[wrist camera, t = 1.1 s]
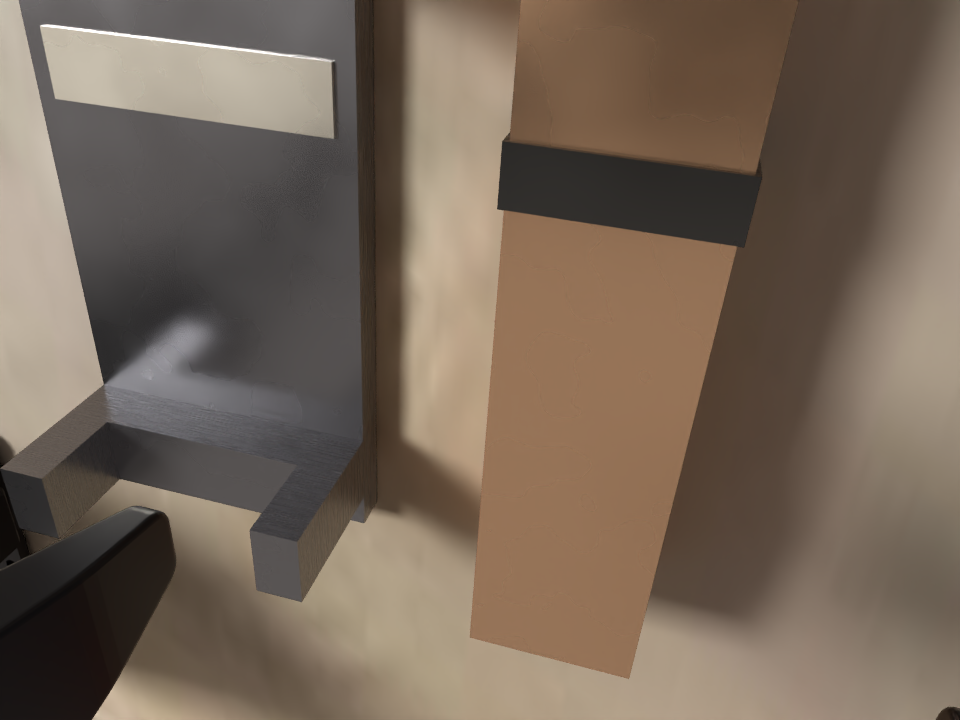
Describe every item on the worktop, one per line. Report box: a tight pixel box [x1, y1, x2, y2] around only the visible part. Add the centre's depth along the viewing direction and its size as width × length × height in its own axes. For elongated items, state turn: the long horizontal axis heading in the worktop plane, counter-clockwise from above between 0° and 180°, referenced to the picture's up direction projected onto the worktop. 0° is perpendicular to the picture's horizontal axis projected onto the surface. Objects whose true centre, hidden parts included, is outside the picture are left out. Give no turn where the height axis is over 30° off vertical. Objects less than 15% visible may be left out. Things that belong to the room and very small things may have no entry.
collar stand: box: [0, 0, 377, 602], centre depth 18 cm, size 8×18×5 cm, turn 176°
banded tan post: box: [470, 0, 799, 679], centre depth 17 cm, size 4×18×4 cm, turn 176°
